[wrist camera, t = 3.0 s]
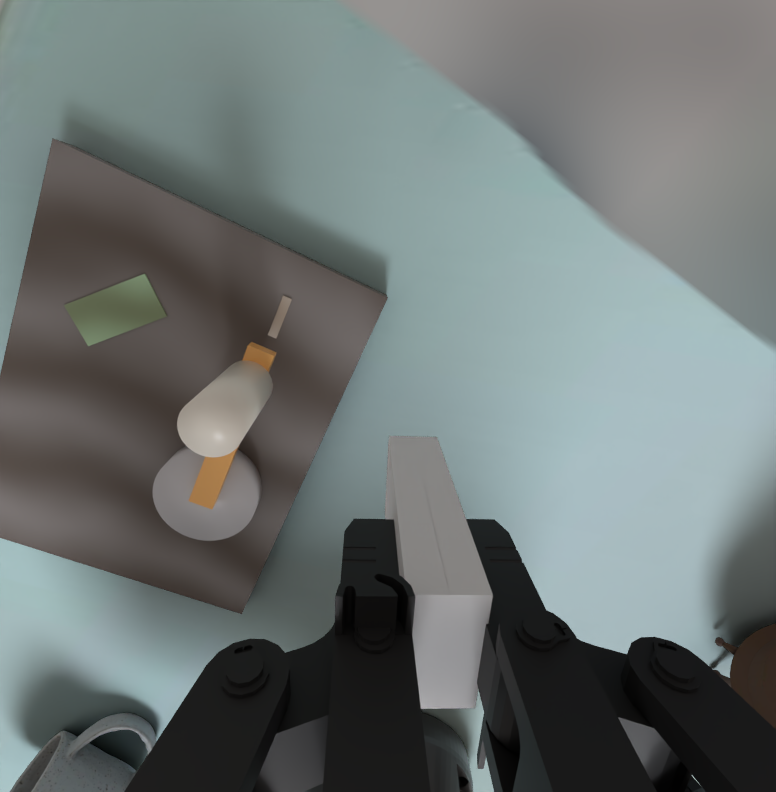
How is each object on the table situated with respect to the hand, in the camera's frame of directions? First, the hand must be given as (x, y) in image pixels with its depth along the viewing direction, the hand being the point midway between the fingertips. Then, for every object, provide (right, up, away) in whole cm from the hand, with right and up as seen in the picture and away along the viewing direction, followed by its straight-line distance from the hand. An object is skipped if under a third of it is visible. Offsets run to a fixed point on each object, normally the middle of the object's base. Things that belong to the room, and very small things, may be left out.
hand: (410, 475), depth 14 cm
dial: (-10, 0, +13) cm, 16 cm away
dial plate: (-14, +2, +14) cm, 20 cm away
